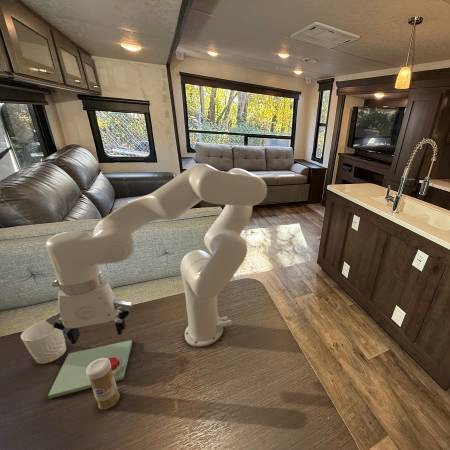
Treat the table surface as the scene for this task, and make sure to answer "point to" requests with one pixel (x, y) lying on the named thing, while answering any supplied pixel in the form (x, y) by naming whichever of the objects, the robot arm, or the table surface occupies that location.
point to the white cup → (44, 342)
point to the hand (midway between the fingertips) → (99, 335)
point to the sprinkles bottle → (103, 383)
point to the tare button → (113, 363)
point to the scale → (78, 362)
